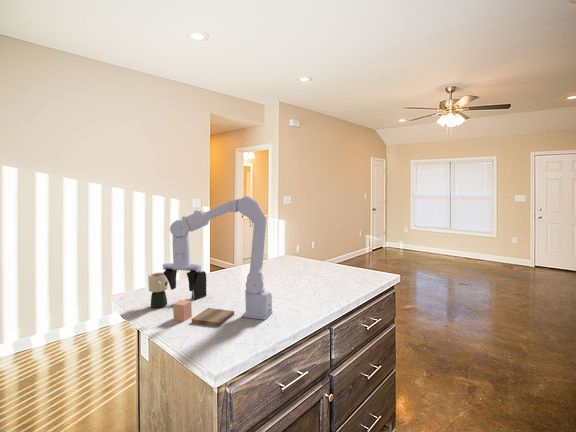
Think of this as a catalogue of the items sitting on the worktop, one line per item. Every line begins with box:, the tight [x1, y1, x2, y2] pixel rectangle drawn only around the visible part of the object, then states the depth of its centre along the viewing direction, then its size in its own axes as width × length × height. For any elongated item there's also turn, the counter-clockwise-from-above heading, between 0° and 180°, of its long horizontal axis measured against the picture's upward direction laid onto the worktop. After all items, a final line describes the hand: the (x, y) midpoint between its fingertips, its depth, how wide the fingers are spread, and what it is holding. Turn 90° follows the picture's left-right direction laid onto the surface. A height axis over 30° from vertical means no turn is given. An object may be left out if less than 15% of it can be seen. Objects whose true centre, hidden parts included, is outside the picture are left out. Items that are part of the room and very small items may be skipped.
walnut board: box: [191, 307, 235, 327], centre depth 119 cm, size 11×11×2 cm
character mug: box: [147, 272, 169, 308], centre depth 131 cm, size 11×7×13 cm, turn 28°
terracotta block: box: [172, 299, 193, 322], centre depth 119 cm, size 4×4×6 cm
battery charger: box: [190, 270, 208, 300], centre depth 142 cm, size 7×4×11 cm, turn 145°
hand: (182, 289), depth 119 cm, fingers open, 7 cm apart
